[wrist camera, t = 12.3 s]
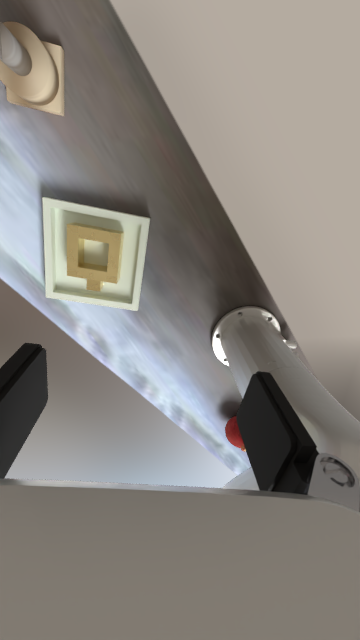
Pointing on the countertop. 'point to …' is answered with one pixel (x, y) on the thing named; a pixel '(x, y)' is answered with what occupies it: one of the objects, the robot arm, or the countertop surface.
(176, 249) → the countertop surface
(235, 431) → the onion
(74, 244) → the ring
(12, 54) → the beige post on base
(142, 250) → the tray
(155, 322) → the countertop surface
